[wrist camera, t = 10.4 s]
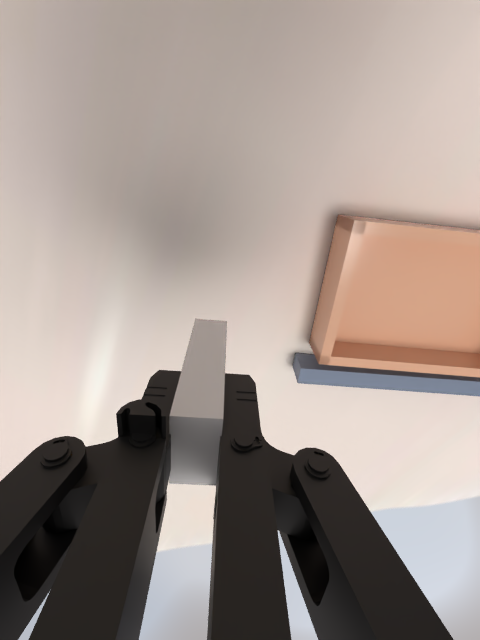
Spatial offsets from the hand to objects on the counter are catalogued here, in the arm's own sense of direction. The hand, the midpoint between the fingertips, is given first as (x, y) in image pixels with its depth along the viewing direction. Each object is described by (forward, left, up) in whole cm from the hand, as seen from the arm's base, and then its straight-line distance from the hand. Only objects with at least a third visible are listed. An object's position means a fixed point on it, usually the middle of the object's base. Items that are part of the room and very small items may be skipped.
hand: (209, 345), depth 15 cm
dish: (0, +16, -11) cm, 20 cm away
